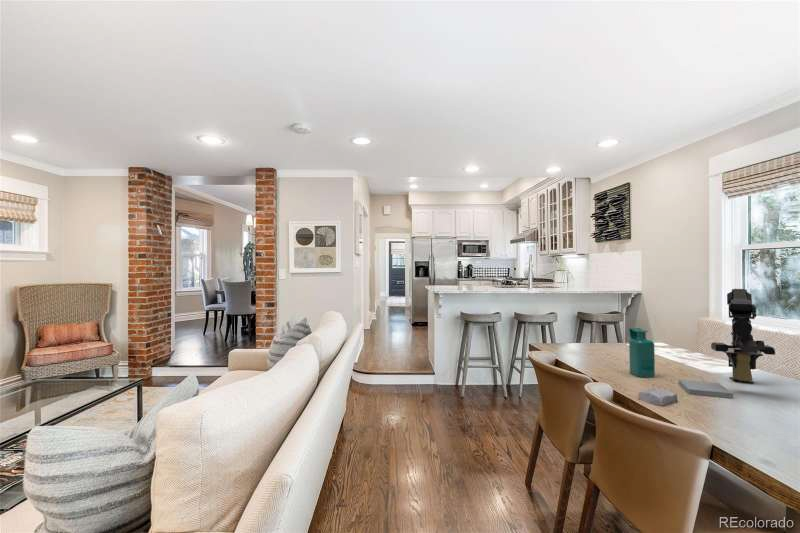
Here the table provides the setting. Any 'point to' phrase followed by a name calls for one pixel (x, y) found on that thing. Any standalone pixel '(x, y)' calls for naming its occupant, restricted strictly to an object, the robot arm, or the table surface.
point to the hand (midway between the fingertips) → (742, 369)
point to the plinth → (705, 388)
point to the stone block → (658, 396)
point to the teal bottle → (641, 354)
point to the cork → (742, 367)
